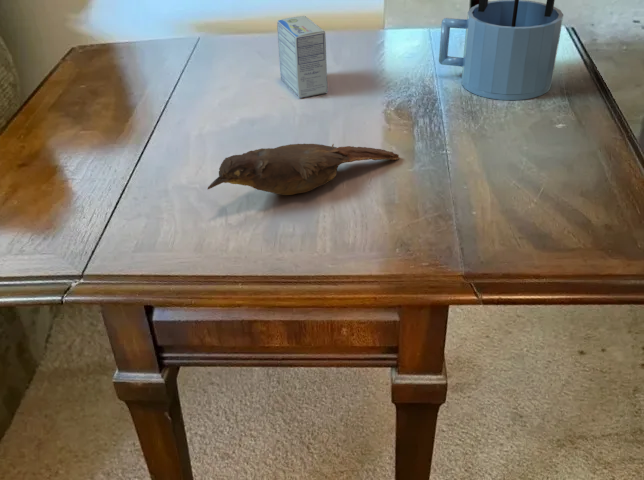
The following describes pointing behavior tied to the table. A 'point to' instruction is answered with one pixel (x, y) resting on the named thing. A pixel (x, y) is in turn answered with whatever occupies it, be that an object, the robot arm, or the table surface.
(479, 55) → the mug
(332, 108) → the table surface
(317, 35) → the medicine box
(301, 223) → the table surface
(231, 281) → the table surface
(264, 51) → the table surface
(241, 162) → the bird sculpture
